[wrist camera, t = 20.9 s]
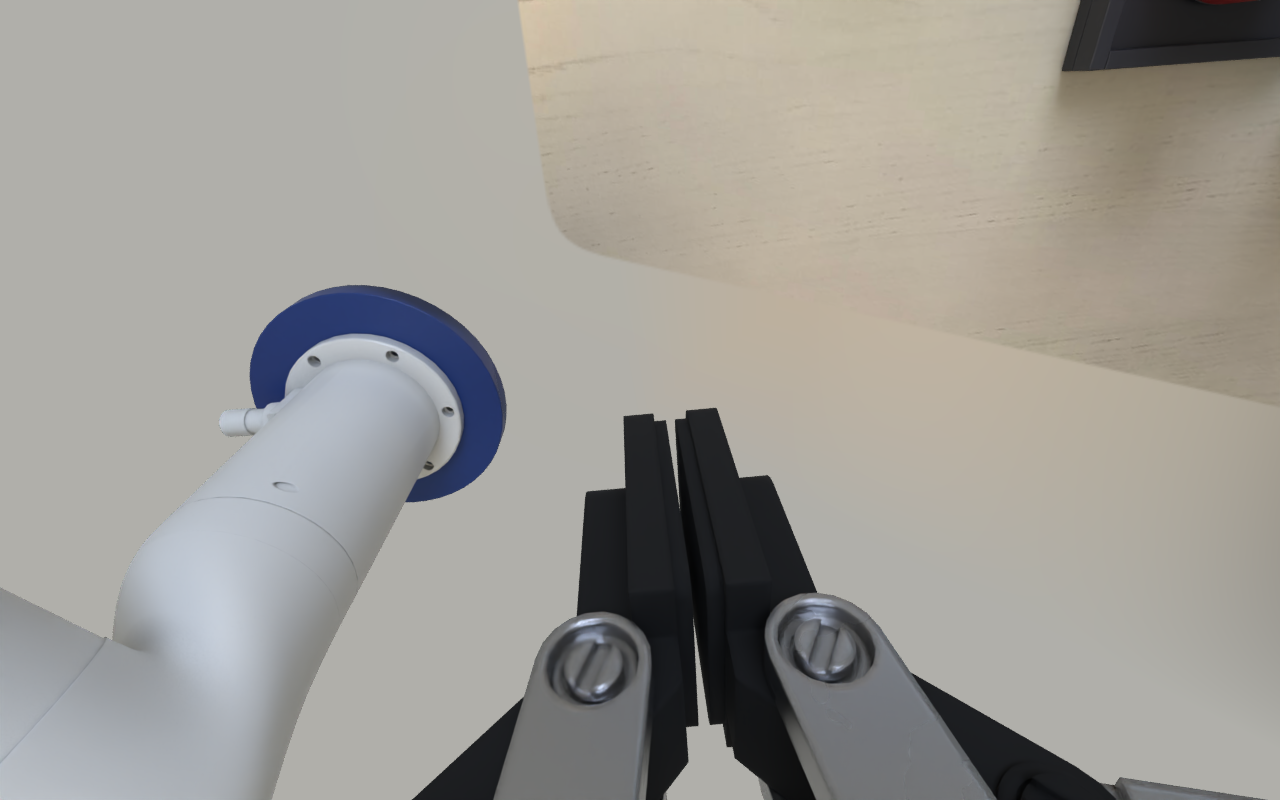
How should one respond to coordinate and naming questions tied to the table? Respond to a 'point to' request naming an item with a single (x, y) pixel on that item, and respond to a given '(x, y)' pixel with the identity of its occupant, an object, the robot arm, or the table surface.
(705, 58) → the table surface
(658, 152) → the table surface
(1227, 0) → the soda can
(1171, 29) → the tray
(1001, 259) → the table surface
